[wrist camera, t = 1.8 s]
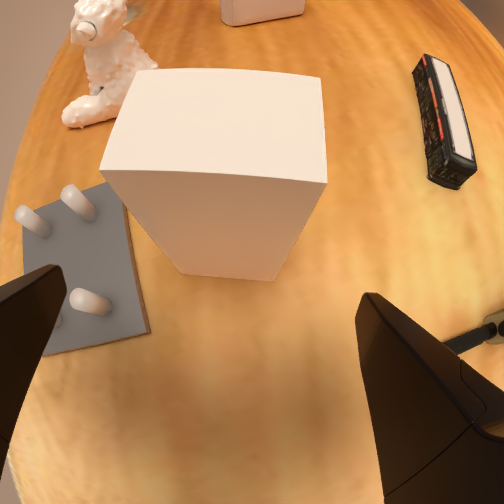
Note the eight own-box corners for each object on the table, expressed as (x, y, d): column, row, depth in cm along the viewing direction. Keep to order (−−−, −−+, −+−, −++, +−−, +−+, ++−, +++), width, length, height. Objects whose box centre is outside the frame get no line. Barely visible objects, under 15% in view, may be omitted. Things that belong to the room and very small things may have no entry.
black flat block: (378, 198, 23) (401, 171, 19) (370, 32, 30) (379, 8, 26) (503, 239, 22) (531, 224, 18) (464, 72, 29) (477, 52, 25)
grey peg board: (150, 332, 19) (126, 329, 14) (43, 356, 18) (5, 355, 13) (123, 184, 22) (101, 151, 17) (29, 219, 21) (-3, 197, 16)
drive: (273, 281, 20) (327, 183, 8) (180, 273, 20) (98, 170, 7) (277, 223, 21) (319, 78, 9) (189, 216, 21) (137, 70, 9)
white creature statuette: (112, 62, 26) (81, -27, 14) (184, 67, 25) (169, -40, 14) (64, 130, 23) (5, 38, 12) (140, 141, 23) (93, 21, 11)
